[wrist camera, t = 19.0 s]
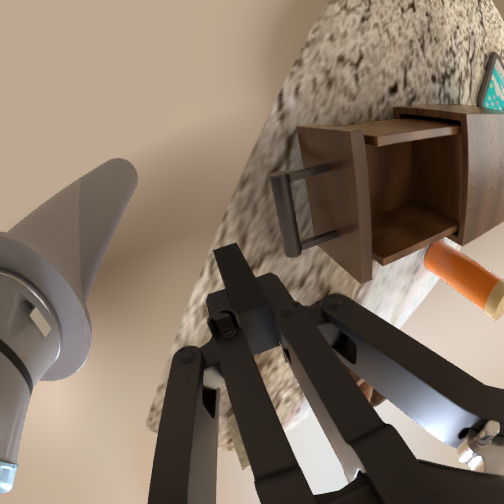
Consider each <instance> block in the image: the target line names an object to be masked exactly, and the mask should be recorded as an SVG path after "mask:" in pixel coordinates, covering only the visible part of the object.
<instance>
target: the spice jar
mask: <svg viewBox="0 0 504 504" xmlns="http://www.w3.org/2000/svg"><path fill="white" fill-rule="evenodd" d="M424 264H425V267H426V268H427V269H428V270H429V271H431V272H432V273H434V274H435V275H436V276H438V277H439V278H441V279H442V280H443V281H445V282H446V283H447V284H449V285H450V286H452V287H453V288H454V289H456V290H457V291H458V292H460V293H461V294H462V295H464V296H465V297H466V298H468V299H469V300H470V301H471V302H473V303H474V304H475V305H477V306H478V307H479V308H480V309H482V310H483V311H484V312H485V313H486V314H487V315H488V316H490V317H491V318H492V319H493V320H495V321H496V320H497V319H499V318H500V317H501V316H502V314H503V313H504V279H501V278H500V277H498V276H497V275H495V274H494V273H492V272H491V271H489V270H488V269H486V268H485V267H483V266H481V265H480V264H478V263H477V262H475V261H474V260H472V259H470V258H469V257H467V256H466V255H464V254H462V253H461V252H459V251H457V250H456V249H454V248H452V247H451V246H449V245H447V244H446V243H444V242H442V241H436V242H434V243H433V244H432V245H431V246H430V248H429V249H428V251H427V253H426V256H425V261H424Z"/></svg>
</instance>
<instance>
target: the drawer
mask: <svg viewBox="0 0 504 504" xmlns="http://www.w3.org/2000/svg"><path fill="white" fill-rule="evenodd" d="M296 128H297V133H298V138H299V143H300V149H301V154H302V160H303V165H304V169H301V170H297V171H293V172H289V173H288V172H286V171H280V172H275V173H272V174H271V175H270V181H271V186H272V191H273V195H274V200H275V205H276V210H277V215H278V220H279V225H280V230H281V235H282V240H283V245H284V251H285V255H286V256H287V257H289V258H294V257H298V256H299V255H301V253H302V251H301V250H304V249H307V248H310V247H313V246H316V245H318V246H319V247H320V248H321V249H322V250H324V251H325V252H326V253H327V254H328V255H329V256H330V257H331V258H333V259H334V260H335V261H336V262H337V263H338V264H339V265H340V266H342V267H343V268H344V269H345V270H346V271H347V272H348V273H349V274H350V275H351V276H353V277H354V278H355V279H356V280H357V281H358V282H359V283H360V284H363V283H365V282H368V281H370V280H372V258H373V259H374V260H375V261H377V262H378V263H379V264H381V265H382V266H385V265H387V264H389V263H392V262H394V261H396V260H398V259H400V258H403V257H405V256H407V255H409V254H411V253H413V252H415V251H418V250H420V249H422V248H424V247H426V246H428V245H430V244H432V243H434V242H436V241H438V240H440V239H442V238H444V237H446V236H448V235H450V234H452V233H454V232H456V231H458V230H459V224H460V213H461V198H462V133H461V125H460V124H454V123H448V122H441V121H434V120H427V119H419V118H410V117H408V118H398V119H389V120H380V121H372V122H365V123H358V124H351V125H345V126H339V127H333V126H321V125H302V126H297V127H296ZM303 178H306V183H307V189H308V195H309V201H310V208H311V215H312V222H313V229H314V237H311V238H308V239H305V240H302V241H300V239H299V233H298V227H297V221H296V215H295V209H294V203H293V198H292V192H291V187H290V182H292V181H295V180H299V179H303ZM289 181H290V182H289Z"/></svg>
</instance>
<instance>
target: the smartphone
mask: <svg viewBox="0 0 504 504" xmlns="http://www.w3.org/2000/svg"><path fill="white" fill-rule="evenodd" d="M477 104H478V107H484V108H490V109H496V110H501V111H504V65H503V63H502V61H501V59H500V57H499V55H498V54H497V53H496V52H492V53H491V57H490V60H489V64H488V68H487V71H486V75H485V78H484V81H483V85H482V88H481V91H480V94H479V97H478V102H477Z"/></svg>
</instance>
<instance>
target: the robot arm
mask: <svg viewBox="0 0 504 504" xmlns="http://www.w3.org/2000/svg"><path fill="white" fill-rule="evenodd" d="M213 252H214V255H215V259H216V262H217V265H218V268H219V271H220V274H221V277H222V280H223V283H224V286H225V289H223V290H220V291H217V292H214V293H211V294H208V297H207V299H206V303H207V307H208V312H209V317H208V319H207V324H208V326H209V329H210V331H211V333H212V335H213V336H212V338H211V340H210V341H209V342H208V343H207V344H205V345H204V346H202V347H200V348H198V347H196V346H186V347H183V348H181V349H179V350H178V351H177V352H176V353H175V354H174V356H173V359H172V364H171V369H170V373H169V378H168V383H167V388H166V393H165V398H164V403H163V409H162V414H161V420H160V425H159V431H158V437H157V443H156V449H155V455H154V461H153V468H152V475H151V482H150V489H149V497H148V504H216V476H217V475H216V474H217V446H218V421H219V399H220V386H222V385H224V384H226V387H227V391H228V395H229V398H230V402H231V405H232V408H233V412H234V415H235V418H236V422H237V425H238V428H239V432H240V435H241V438H242V441H243V444H244V447H245V451H246V454H247V457H248V460H249V463H250V466H251V469H252V471H253V475H254V479H255V481H254V483H255V488H256V491H257V494H258V497H259V499H260V502H261V504H504V389H499V388H495V387H491V386H487V385H484V384H483V383H481V382H480V381H478V380H476V379H475V378H474V377H472V376H470V375H469V374H467V373H466V372H464V371H463V370H461V369H460V368H458V367H457V366H455V365H454V364H452V363H450V362H449V361H447V360H446V359H444V358H443V357H441V356H439V355H438V354H436V353H435V352H433V351H432V350H430V349H429V348H427V347H425V346H424V345H422V344H421V343H419V342H418V341H416V340H415V339H413V338H412V337H410V336H408V335H407V334H405V333H404V332H402V331H401V330H399V329H397V328H396V327H394V326H393V325H391V324H389V323H388V322H386V321H385V320H383V319H382V318H380V317H378V316H377V315H375V314H374V313H372V312H370V311H369V310H367V309H366V308H364V307H362V306H361V305H359V304H358V303H356V302H355V301H353V300H351V299H350V298H348V297H347V296H345V295H342V294H330V295H328V296H325V297H324V298H323V299H322V300H321V303H320V305H317V306H302V305H301V304H300V303H299V302H296V301H294V299H293V298H292V297H291V295H290V294H289V292H288V291H287V289H286V288H285V286H284V285H283V283H282V282H281V281H280V279H279V278H278V276H276V275H274V274H272V273H268V274H265V275H262V276H259V277H255V276H254V274H253V272H252V270H251V268H250V267H249V265H248V263H247V261H246V259H245V258H244V256H243V254H242V252H241V250H240V249H239V247H238V245H237V243H233V244H230V245H227V246H224V247H221V248H218V249H215V250H213ZM279 342H280V344H281V346H282V349H283V354H284V358H285V362H286V363H287V362H288V363H289V365H290V367H291V369H292V371H293V373H294V375H295V377H296V379H297V381H298V383H299V385H300V387H301V389H302V391H303V392H304V394H305V396H306V398H307V400H308V402H309V404H310V406H311V408H312V410H313V412H314V413H315V416H316V417H317V419H318V421H319V423H320V425H321V427H322V429H323V431H324V433H325V435H326V436H327V438H328V440H329V442H330V444H331V446H332V448H333V450H334V452H335V454H336V455H337V457H338V459H339V461H340V463H341V464H342V467H343V469H344V473H345V476H346V478H347V480H348V482H349V484H348V485H346V486H345V487H344V488H342V489H341V490H338V491H334V492H329V493H324V494H318V495H313V493H312V492H311V489H310V487H309V485H308V483H307V481H306V479H305V476H304V474H303V472H302V470H301V468H300V466H299V464H298V462H297V460H296V458H295V456H294V453H293V451H292V449H291V446H290V444H289V442H288V439H287V437H286V435H285V432H284V430H283V428H282V426H281V423H280V421H279V418H278V416H277V414H276V411H275V409H274V407H273V404H272V402H271V399H270V397H269V395H268V392H267V390H266V387H265V385H264V382H263V380H262V377H261V375H260V373H259V370H258V368H257V365H256V363H255V360H254V358H253V355H256V354H258V353H261V352H264V351H267V350H269V349H272V348H275V347H278V346H280V344H279ZM61 345H62V328H61V324H60V321H59V318H58V316H57V314H56V312H55V310H54V308H53V306H52V305H51V303H50V302H49V300H48V299H47V298H46V297H45V295H44V294H43V293H42V292H41V291H40V290H39V289H38V288H37V287H36V286H35V285H34V284H33V283H32V282H30V281H29V280H28V279H26V278H25V277H23V276H22V275H20V274H18V273H16V272H14V271H12V270H9V269H6V268H1V267H0V493H6V492H8V491H10V490H11V488H12V485H13V481H14V476H15V472H16V469H17V468H18V464H17V457H18V451H19V445H20V440H21V435H22V430H23V425H24V421H25V417H26V413H27V409H28V405H29V401H30V397H31V393H32V390H33V387H34V386H35V384H36V383H37V382H38V381H39V380H40V379H41V377H42V376H43V375H44V374H45V372H46V371H47V370H48V369H49V368H50V367H51V366H52V365H53V364H54V362H55V360H56V359H57V357H58V354H59V351H60V348H61ZM343 363H344V364H345V365H346V366H347V367H348V368H350V369H351V370H352V371H353V372H354V373H356V374H357V375H358V376H359V377H361V378H362V379H363V380H364V381H365V382H367V383H368V384H369V385H370V386H372V387H373V388H374V389H375V390H377V391H378V392H379V393H380V394H381V395H383V396H384V397H385V398H386V399H388V400H389V401H390V402H391V403H393V404H394V405H395V406H396V407H398V408H399V409H400V410H401V411H403V412H404V413H405V414H406V415H408V416H409V417H410V418H411V419H413V420H414V421H415V422H417V423H418V424H419V425H420V426H422V427H423V428H424V429H425V430H427V431H428V432H429V433H431V434H432V435H433V436H435V437H436V438H438V439H439V440H441V441H442V442H444V443H446V444H448V445H450V446H452V447H455V448H458V458H459V461H460V462H463V463H466V464H467V465H469V466H470V467H471V468H472V471H471V470H465V469H460V468H455V467H450V466H445V465H441V464H437V463H433V462H429V461H425V460H421V459H416V457H415V456H414V455H413V453H412V452H411V450H410V449H409V447H408V446H407V444H406V443H405V442H404V440H403V439H402V437H401V436H400V434H399V433H398V432H397V430H396V429H395V428H394V427H393V426H392V425H390V424H385V423H384V422H383V421H382V420H381V418H380V417H379V416H378V414H377V412H376V411H375V410H374V408H373V407H372V405H371V404H370V402H369V401H368V399H367V398H366V396H365V395H364V394H363V392H362V391H361V389H360V388H359V386H358V385H357V383H356V382H355V380H354V379H353V378H352V376H351V375H350V373H349V372H348V370H347V369H346V367H345V366H344V365H343Z"/></svg>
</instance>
